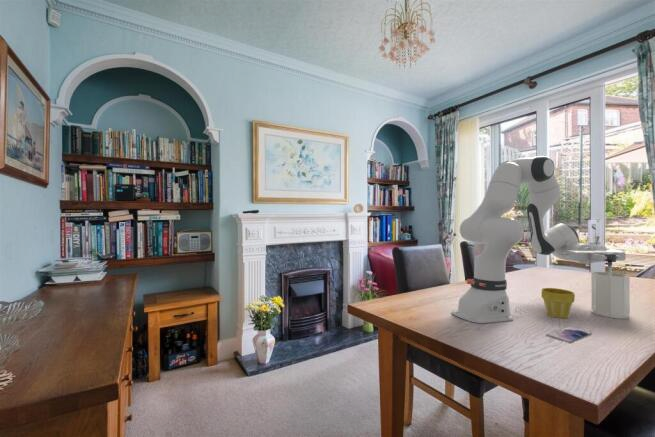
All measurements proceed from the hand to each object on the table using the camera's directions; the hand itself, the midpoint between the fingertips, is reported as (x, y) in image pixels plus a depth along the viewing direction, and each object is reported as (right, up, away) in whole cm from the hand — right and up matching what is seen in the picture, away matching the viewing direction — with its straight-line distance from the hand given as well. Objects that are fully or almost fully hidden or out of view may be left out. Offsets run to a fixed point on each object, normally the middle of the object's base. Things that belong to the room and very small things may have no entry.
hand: (611, 257), depth 117 cm
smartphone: (-32, -23, -19) cm, 44 cm away
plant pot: (-21, -23, 0) cm, 31 cm away
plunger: (0, -20, +1) cm, 20 cm away
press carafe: (+2, -23, +2) cm, 23 cm away
